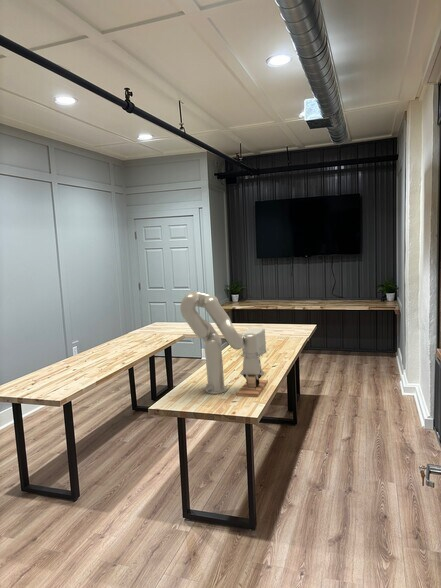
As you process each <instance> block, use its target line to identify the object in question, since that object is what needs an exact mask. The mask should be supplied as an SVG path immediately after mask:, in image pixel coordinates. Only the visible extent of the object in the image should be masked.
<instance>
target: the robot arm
mask: <svg viewBox="0 0 441 588" xmlns="http://www.w3.org/2000/svg"><path fill="white" fill-rule="evenodd" d="M196 307H198V308H204V310H205V312H206V313H207V314H208V316H209V317H210V318H211V320H213V322H214V324H215V325H216V327H217V328H218V330H219V331H220V333H221V334H222V336H223V338H224V339H225V340H226V342H227V343H228V345H229V346H230V348H232V349H234V350H236V351H238V350H242V347H243V345H244V352H245V357H243V362H242V369H241V371H240V375H242V377H244V378H245V380H246V381H245V383H246V382H247V377H248V376H249V375H256V386H257V387H258V385H259V380H260V379H261V378H262V377H263V376H264V375H265V374H266V373H265V372H264V370H263V369H262V364H261V363H262V362H261V359H260V357H259V355H260V353H258V351H257V336H256V334H254V333H248V334H241V333H238V331H237V330H236V329H235V327H234V324H233V323H232V320H231V318H230V316H229V315H228V313H227V312H226V310H224V308H223V306H222V305H221V303H219V299H218V297H216V296H215V295H214V294H213V295H212V294H210V293H209V294H207V293H203V292H199V291H195V290H194V291H189V292H187V293H186V294H185V295H184V296H183V297H182V300H181V303H180V306H179V309H180V313H181V316H182V318H183V319H184V321H186V323H187V325H188V326H189V327H190V329H191V330H192V332H193V333H194V334H195V336H196V337H197V338H199V339H201V340H202V341H203V342H204V354H205V355H204V356H205V357H204V358H205V366H206V367H205V368H206V377H207V383H206V384H205V386H202V387H201V389H200V390H201V392H204V391H205V392H206V393H207V394H211V395H218V394H223V393H225V392H227V390H228V387H227V385H225V377H224V367H223V366H224V364H223V362H224V361H223V354H222V353H223V352H222V351H223V350H222V338H221V336H220V335H219V333H218V332H217V331H216V329H215V328H214V327H213V325H212V324H211V323H210V322H209V321H208V320H206V319H204V318H202V316H201V314H200V313H199V312H198V311H197V309H196ZM260 372H261V374H260ZM259 374H260V375H259ZM247 386H248V383H247Z"/></svg>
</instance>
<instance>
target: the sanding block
mask: <svg viewBox="0 0 441 588" xmlns="http://www.w3.org/2000/svg"><path fill="white" fill-rule="evenodd" d="M247 383H248V388H256V375H249V376H248V377H247Z"/></svg>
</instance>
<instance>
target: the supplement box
mask: <svg viewBox="0 0 441 588" xmlns="http://www.w3.org/2000/svg"><path fill="white" fill-rule="evenodd" d="M265 330H266V329H265V328H248V329H246V330H245V331H243V332H241V333H240V334H248V333H254V334H256V336H257V351H258V353H260V355H259V358H260V357H261V356H262V355H264V354H265V353H266V352H267V345H266V343H267V342H266V331H265ZM241 350H242V357H243V358H244V357H245V352H244V345H243V347H242V348H241Z"/></svg>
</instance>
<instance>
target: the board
mask: <svg viewBox="0 0 441 588" xmlns="http://www.w3.org/2000/svg"><path fill="white" fill-rule="evenodd" d="M268 382H269V380H268V379H259V385H258V387H257V386H256V388H248V386H247V382H246V381H245V383H244V384H243V385H242V386H241V387H240V389H239V390H238V391H237V392H236V397H251V398H258V397H259V396H260V394H261V393H263V392H262V391H263V390H264V389H265V387H266V386H267V384H268Z"/></svg>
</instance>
